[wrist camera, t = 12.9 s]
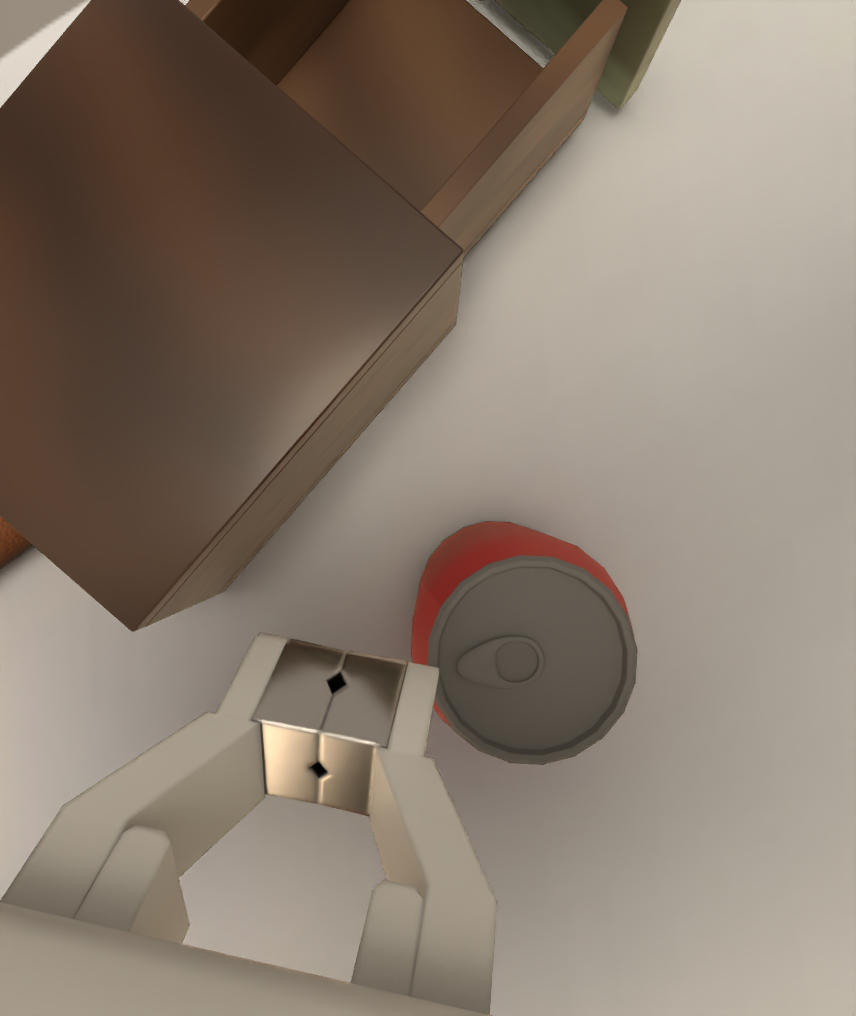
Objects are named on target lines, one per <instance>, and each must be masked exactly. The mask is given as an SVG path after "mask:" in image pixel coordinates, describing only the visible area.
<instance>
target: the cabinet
mask: <svg viewBox="0 0 856 1016" xmlns="http://www.w3.org/2000/svg"><path fill="white" fill-rule="evenodd" d="M463 253H464V251H463V249H462V248H461V247H460V246H459V245H458V244H456V243H455V242H454V241H453V240H452V239H451V238H450V237H448V236H447V235H446V234H445V233H444V232H443V231H442V230H440V229H439V228H438V227H437V226H436V225H435V224H434V223H433V222H431V221H430V220H429V219H428V218H427V217H426V216H425V215H423V214H422V213H421V212H420V211H419V210H418V209H417V208H415V207H414V206H413V205H412V204H411V203H410V202H409V201H407V200H406V199H405V198H404V197H403V196H402V195H401V194H399V193H398V192H397V191H396V190H395V189H394V188H393V187H391V186H390V185H389V184H388V183H387V182H386V181H385V180H383V179H382V178H381V177H380V176H379V175H378V174H377V173H375V172H374V171H373V170H372V169H371V168H370V167H369V166H367V165H366V164H365V163H364V162H363V161H362V160H361V159H359V158H358V157H357V156H356V155H355V154H354V153H353V152H351V151H350V150H349V149H348V148H347V147H346V146H345V145H343V144H342V143H341V142H340V141H339V140H338V139H337V138H335V137H334V136H333V135H332V134H331V133H330V132H329V131H327V130H326V129H325V128H324V127H323V126H322V125H321V124H319V123H318V122H317V121H316V120H315V119H314V118H313V117H312V116H310V115H309V114H308V113H307V112H306V111H305V110H304V109H302V108H301V107H300V106H299V105H298V104H297V103H296V102H294V101H293V100H292V99H291V98H290V97H289V96H288V95H286V94H285V93H284V92H283V91H282V90H281V89H280V88H278V87H277V86H276V85H275V84H274V83H273V82H272V81H270V80H269V79H268V78H267V77H266V76H265V75H264V74H262V73H261V72H260V71H259V70H258V69H257V68H256V67H254V66H253V65H252V64H251V63H250V62H249V61H248V60H246V59H245V58H244V57H243V56H242V55H241V54H240V53H238V52H237V51H236V50H235V49H234V48H233V47H232V46H230V45H229V44H228V43H227V42H226V41H225V40H224V39H222V38H221V37H220V36H219V35H218V34H217V33H216V32H214V31H213V30H212V29H211V28H210V27H209V26H208V25H206V24H205V23H204V22H203V21H202V20H201V19H200V18H199V17H197V16H196V15H195V14H194V13H193V12H192V11H191V10H189V9H188V8H187V7H186V6H185V5H184V4H183V3H181V2H180V1H179V0H91V1H90V2H89V4H88V5H87V6H86V7H85V8H84V9H83V11H82V12H81V13H80V14H79V15H78V17H77V18H76V19H75V20H74V21H73V22H72V24H71V25H70V26H69V27H68V28H67V30H66V31H65V32H64V33H63V34H62V36H61V37H60V38H59V39H58V40H57V41H56V43H55V44H54V45H53V46H52V47H51V49H50V50H49V51H48V52H47V53H46V55H45V56H44V57H43V58H42V59H41V60H40V62H39V63H38V64H37V65H36V66H35V68H34V69H33V70H32V71H31V72H30V73H29V75H28V76H27V77H26V78H25V79H24V81H23V82H22V83H21V84H20V85H19V87H18V88H17V89H16V90H15V91H14V92H13V94H12V95H11V96H10V97H9V98H8V100H7V101H6V102H5V103H4V104H3V106H2V107H1V108H0V517H1V518H3V519H4V520H5V521H6V522H7V523H8V524H9V525H11V526H12V527H13V528H14V529H15V530H16V531H17V532H19V533H20V534H21V535H22V536H23V537H24V538H25V539H27V540H28V541H29V542H30V543H31V544H32V545H33V546H35V547H36V548H37V549H38V550H39V551H40V552H41V553H43V554H44V555H45V556H46V557H47V558H48V559H49V560H51V561H52V562H53V563H54V564H55V565H56V566H57V567H59V568H60V569H61V570H62V571H63V572H64V573H65V574H67V575H68V576H69V577H70V578H71V579H72V580H74V581H75V582H76V583H77V584H78V585H79V586H80V587H82V588H83V589H84V590H85V591H86V592H87V593H88V594H90V595H91V596H92V597H93V598H94V599H95V600H96V601H98V602H99V603H100V604H101V605H102V606H103V607H104V608H106V609H107V610H108V611H109V612H110V613H111V614H112V615H114V616H115V617H116V618H117V619H118V620H119V621H120V622H122V623H123V624H124V625H125V626H126V627H127V628H128V629H130V630H131V631H133V632H134V631H136V630H138V629H141V628H143V627H146V626H148V625H151V624H153V623H155V622H157V621H160V620H162V619H164V618H166V617H169V616H171V615H173V614H175V613H177V612H180V611H182V610H184V609H186V608H189V607H191V606H193V605H195V604H198V603H200V602H202V601H204V600H207V599H209V598H211V597H213V596H216V595H218V594H220V593H222V592H224V591H225V590H226V588H227V587H228V586H229V585H230V584H231V583H232V581H233V580H234V579H235V578H236V577H237V576H238V575H239V573H240V572H241V571H242V570H243V569H244V568H245V567H246V565H247V564H248V563H249V562H250V561H251V560H252V558H253V557H254V556H255V555H256V554H257V553H258V552H259V550H260V549H261V548H262V547H263V546H264V545H265V544H266V542H267V541H268V540H269V539H270V538H271V537H272V535H273V534H274V533H275V532H276V531H277V530H278V529H279V527H280V526H281V525H282V524H283V523H284V522H285V521H286V519H287V518H288V517H289V516H290V515H291V514H292V512H293V511H294V510H295V509H296V508H297V507H298V506H299V504H300V503H301V502H302V501H303V500H304V499H305V498H306V496H307V495H308V494H309V493H310V492H311V491H312V489H313V488H314V487H315V486H316V485H317V484H318V483H319V481H320V480H321V479H322V478H323V477H324V476H325V475H326V473H327V472H328V471H329V470H330V469H331V468H332V467H333V465H334V464H335V463H336V462H337V461H338V460H339V458H340V457H341V456H342V455H343V454H344V453H345V452H346V450H347V449H348V448H349V447H350V446H351V445H352V444H353V442H354V441H355V440H356V439H357V438H358V437H359V435H360V434H361V433H362V432H363V431H364V430H365V429H366V427H367V426H368V425H369V424H370V423H371V422H372V421H373V419H374V418H375V417H376V416H377V415H378V414H379V412H380V411H381V410H382V409H383V408H384V407H385V406H386V404H387V403H388V402H389V401H390V400H391V399H392V398H393V396H394V395H395V394H396V393H397V392H398V391H399V389H400V388H401V387H402V386H403V385H404V384H405V383H406V381H407V380H408V379H409V378H410V377H411V376H412V375H413V373H414V372H415V371H416V370H417V369H418V368H419V366H420V365H421V364H422V363H423V362H424V361H425V360H426V358H427V357H428V356H429V355H430V354H431V353H432V352H433V350H434V349H435V348H436V347H437V346H438V345H439V343H440V342H441V341H442V340H443V339H444V338H445V337H446V335H447V334H448V333H449V332H450V331H451V330H452V329H453V327H454V326H455V325H456V319H457V310H458V301H459V292H460V283H461V274H462V265H463Z"/></svg>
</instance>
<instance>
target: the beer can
mask: <svg viewBox="0 0 856 1016" xmlns="http://www.w3.org/2000/svg"><path fill="white" fill-rule="evenodd" d="M411 655H412V659H413V663H416V664H422V665H427V666H432V667H437V668H439V677H438V683H437V689H436V694H435V700H434V706H433V708H434V709H435V711H436V712H437V714H438V715H439V717H440V718H441V719H442V720H443V721H444V722H445V723H446V724H448V725H449V726H450V727H451V728H452V729H453V730H454V731H455V732H456V733H457V734H459V735H460V736H461V737H462V738H464V739H465V740H466V741H467V742H469V743H470V744H471V745H472V746H474V747H475V748H476V749H477V750H479V751H480V752H483V753H486V754H488V755H491V756H493V757H496V758H499V759H501V760H504V761H506V762H509V763H522V764H540V765H543V764H547V763H551V762H555V761H559V760H563V759H566V758H570V757H574V756H576V755H578V754H579V753H581V752H582V751H584V750H585V749H587V748H589V747H590V746H592V745H593V744H595V743H596V742H598V741H599V740H601V739H603V737H604V736H605V735H606V734H607V733H608V731H609V730H610V729H611V728H612V726H613V725H614V724H615V723H616V722H617V720H618V719H619V718H620V717H621V715H622V714H623V713H624V710H625V708H626V705H627V703H628V700H629V698H630V695H631V693H632V690H633V687H634V685H635V682H636V664H637V646H636V643H635V639H634V633H633V630H632V626H631V622H630V619H629V615H628V611H627V607H626V604H625V601H624V598H623V596H622V595H621V593H620V591H619V590H618V588H617V587H616V585H615V584H614V582H613V581H612V579H611V578H610V576H609V575H608V573H607V572H606V570H605V568H604V567H602V566H601V565H600V564H599V563H597V562H596V561H595V560H594V559H592V558H591V557H590V556H589V555H587V554H586V553H585V552H584V551H582V550H581V549H580V548H579V547H577V546H575V545H573V544H570V543H567V542H565V541H562V540H559V539H557V538H554V537H552V536H549V535H546V534H544V533H541V532H538V531H535V530H532V529H529V528H526V527H523V526H520V525H517V524H514V523H511V522H494V521H485V522H482V523H478V524H474V525H470V526H467V527H463V528H462V529H460V530H459V531H457V532H456V533H454V534H453V535H451V536H450V537H448V538H446V539H445V540H444V541H443V542H442V543H441V544H440V546H439V547H438V548H437V549H436V550H435V552H434V553H433V554H432V555H431V557H430V558H429V560H428V562H427V565H426V567H425V570H424V573H423V575H422V578H421V580H420V585H419V590H418V595H417V600H416V606H415V611H414V616H413V625H412V645H411Z"/></svg>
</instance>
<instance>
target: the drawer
mask: <svg viewBox="0 0 856 1016" xmlns="http://www.w3.org/2000/svg"><path fill="white" fill-rule="evenodd" d="M495 1H496V2H497V3H498V4H499V5H501V6H502V7H503V8H504V9H505V10H506V11H507V12H509V13H510V14H511V15H512V16H513V17H514V18H515V19H517V20H518V21H519V22H520V23H521V24H522V25H523V26H525V27H526V28H527V29H528V30H529V31H530V32H531V33H533V34H534V35H535V36H536V37H537V38H538V39H539V40H541V41H542V42H543V43H544V44H545V45H546V46H547V47H548V48H550V49H551V50H552V51H553V52H554V53H555V54H556V55H555V56H554V57H553V58H552V59H551V60H550V62H549V63H548V64H547V65H546V66H545V67H544V69H543V68H542V67H541V66H540V65H539V64H538V63H536V62H535V61H534V60H533V59H532V58H531V57H530V56H528V55H527V54H526V53H525V52H524V51H523V50H522V49H520V48H519V47H518V46H517V45H516V44H515V43H514V42H512V41H511V40H510V39H509V38H508V37H507V36H506V35H504V34H503V33H502V32H501V31H500V30H499V29H498V28H497V27H495V26H494V25H493V24H492V23H491V22H490V21H489V20H487V19H486V18H485V17H484V16H483V15H482V14H481V13H479V12H478V11H477V10H476V9H475V8H474V7H473V6H471V5H470V4H469V3H468V2H467V1H466V0H189V2H188V3H187V4H186V5H185V6H186V7H187V8H188V9H189V10H191V11H192V12H193V13H194V14H195V15H196V16H197V17H199V18H200V19H201V20H202V21H203V22H204V23H205V24H206V25H208V26H209V27H210V28H211V29H212V30H213V31H214V32H216V33H217V34H218V35H219V36H220V37H221V38H222V39H224V40H225V41H226V42H227V43H228V44H229V45H230V46H232V47H233V48H234V49H235V50H236V51H237V52H238V53H240V54H241V55H242V56H243V57H244V58H245V59H246V60H248V61H249V62H250V63H251V64H252V65H253V66H254V67H256V68H257V69H258V70H259V71H260V72H261V73H262V74H264V75H265V76H266V77H267V78H268V79H269V80H270V81H272V82H273V83H274V84H275V85H276V86H277V87H278V88H280V89H281V90H282V91H283V92H284V93H285V94H286V95H288V96H289V97H290V98H291V99H292V100H293V101H294V102H296V103H297V104H298V105H299V106H300V107H301V108H302V109H304V110H305V111H306V112H307V113H308V114H309V115H310V116H312V117H313V118H314V119H315V120H316V121H317V122H318V123H319V124H321V125H322V126H323V127H324V128H325V129H326V130H327V131H329V132H330V133H331V134H332V135H333V136H334V137H335V138H337V139H338V140H339V141H340V142H341V143H342V144H343V145H345V146H346V147H347V148H348V149H349V150H350V151H351V152H353V153H354V154H355V155H356V156H357V157H358V158H359V159H361V160H362V161H363V162H364V163H365V164H366V165H367V166H369V167H370V168H371V169H372V170H373V171H374V172H375V173H377V174H378V175H379V176H380V177H381V178H382V179H383V180H385V181H386V182H387V183H388V184H389V185H390V186H391V187H393V188H394V189H395V190H396V191H397V192H398V193H399V194H401V195H402V196H403V197H404V198H405V199H406V200H407V201H409V202H410V203H411V204H412V205H413V206H414V207H415V208H417V209H418V210H419V211H420V212H421V213H422V214H423V215H425V216H426V217H427V218H428V219H429V220H430V221H431V222H433V223H434V224H435V225H436V226H437V227H438V228H439V229H440V230H442V231H443V232H444V233H445V234H446V235H447V236H448V237H450V238H451V239H452V240H453V241H454V242H455V243H456V244H458V245H459V246H460V247H461V248H462V249H463V251H464V253H463V258H464V257H465V256H466V254H467V253H468V252H469V251H470V250H471V249H472V248H473V246H474V245H475V244H476V243H477V242H478V241H479V239H480V238H481V237H482V236H483V235H484V234H485V233H486V231H487V230H488V229H489V228H490V227H491V226H492V224H493V223H494V222H495V221H496V220H497V219H498V218H499V216H500V215H501V214H502V213H503V212H504V211H505V210H506V208H507V207H508V206H509V205H510V204H511V203H512V201H513V200H514V199H515V198H516V197H517V196H518V195H519V193H520V192H521V191H522V190H523V189H524V188H525V186H526V185H527V184H528V183H529V182H530V181H531V180H532V178H533V177H534V176H535V175H536V174H537V173H538V171H539V170H540V169H541V168H542V167H543V166H544V165H545V163H546V162H547V161H548V160H549V159H550V158H551V156H552V155H553V154H554V153H555V152H556V151H557V150H558V148H559V147H560V146H561V145H562V144H563V143H564V142H565V140H566V139H567V138H568V137H569V136H570V135H571V133H572V132H573V131H574V130H575V129H576V128H577V127H578V125H579V124H580V123H581V122H582V121H583V120H584V118H585V115H586V112H587V110H588V108H589V106H590V103H591V100H592V98H593V95H594V93H595V90H598V91H599V92H600V93H601V94H602V95H603V96H604V97H606V98H607V99H608V100H609V101H610V102H611V103H612V104H613V105H615V106H616V107H617V108H618V109H620V108H621V107H622V106H623V105H624V104H625V103H626V102H627V100H628V99H629V98H630V97H631V96H632V95H633V94H634V92H635V91H636V90H637V89H638V87H639V85H640V83H641V81H642V79H643V77H644V75H645V73H646V71H647V68H648V66H649V64H650V62H651V60H652V58H653V56H654V54H655V52H656V50H657V48H658V46H659V44H660V42H661V40H662V38H663V36H664V34H665V32H666V30H667V28H668V26H669V24H670V22H671V20H672V18H673V16H674V14H675V12H676V10H677V8H678V6H679V4H680V2H681V0H495Z"/></svg>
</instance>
